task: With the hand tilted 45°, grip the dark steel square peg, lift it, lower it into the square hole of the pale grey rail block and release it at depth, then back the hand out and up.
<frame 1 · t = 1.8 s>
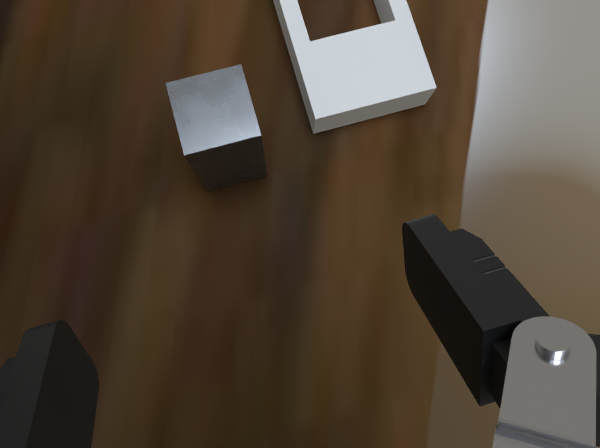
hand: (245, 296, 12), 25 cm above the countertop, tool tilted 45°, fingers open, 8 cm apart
steel square peg: (230, 155, 38), on the countertop
rail block: (336, 14, 40), on the countertop
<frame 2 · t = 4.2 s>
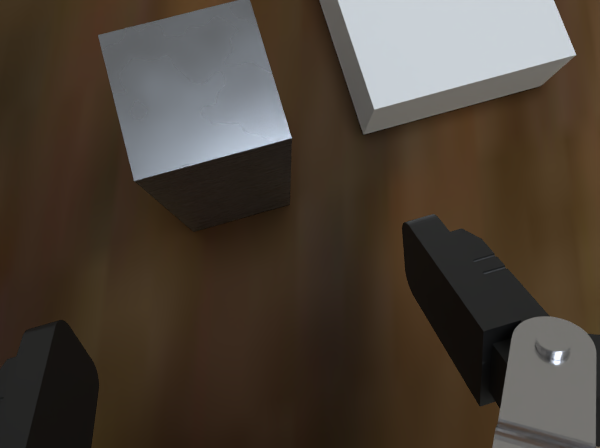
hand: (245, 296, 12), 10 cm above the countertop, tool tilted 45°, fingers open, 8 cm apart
steel square peg: (229, 171, 23), on the countertop
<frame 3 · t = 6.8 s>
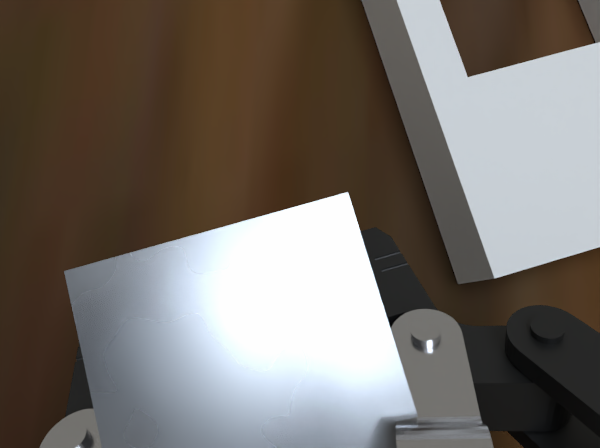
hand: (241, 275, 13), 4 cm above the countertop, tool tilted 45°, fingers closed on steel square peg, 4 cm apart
steel square peg: (268, 340, 16), on the countertop, touching gripper
rail block: (492, 12, 18), on the countertop
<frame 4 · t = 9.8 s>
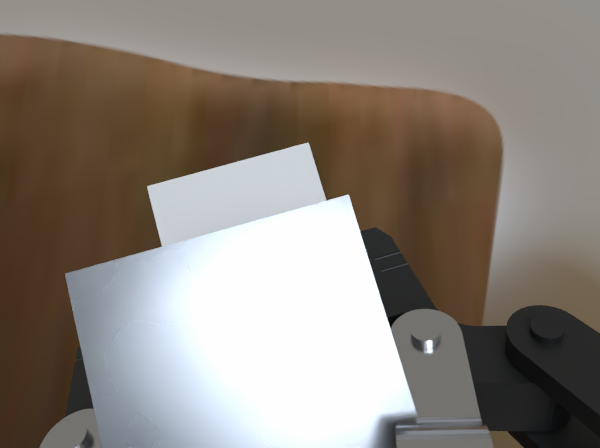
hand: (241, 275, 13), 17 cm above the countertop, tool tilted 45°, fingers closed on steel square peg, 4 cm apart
steel square peg: (269, 341, 16), point 13 cm above the countertop, touching gripper
rail block: (275, 325, 29), on the countertop
when the fingers open (6 cm above the countertop, at t = 13.1 s): steel square peg drops 1 cm, resting in rail block.
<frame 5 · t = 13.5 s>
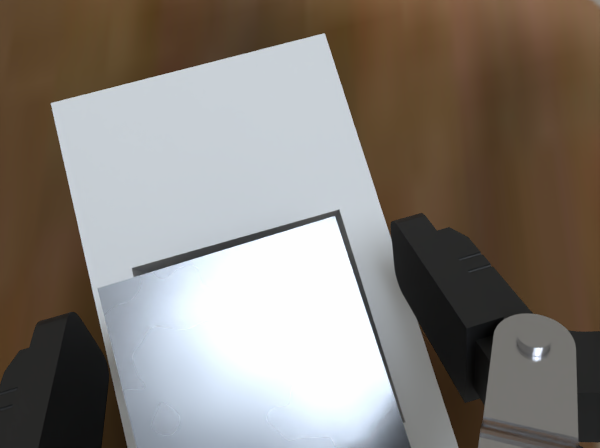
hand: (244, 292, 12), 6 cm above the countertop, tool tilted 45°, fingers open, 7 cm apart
steel square peg: (269, 341, 18), resting in rail block
rail block: (269, 338, 18), on the countertop
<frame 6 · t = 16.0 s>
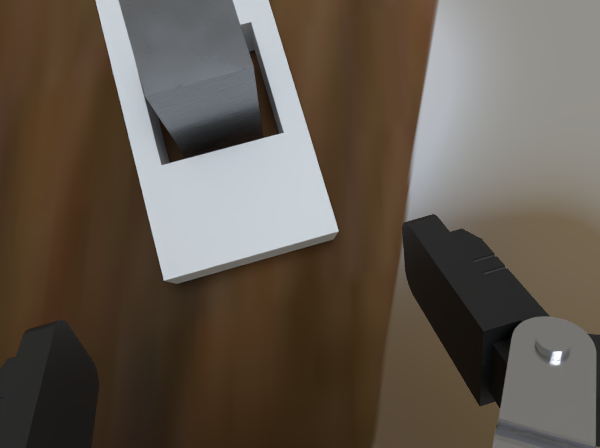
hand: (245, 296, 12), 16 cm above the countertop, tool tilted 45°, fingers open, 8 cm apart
steel square peg: (215, 115, 29), resting in rail block
rail block: (215, 113, 29), on the countertop
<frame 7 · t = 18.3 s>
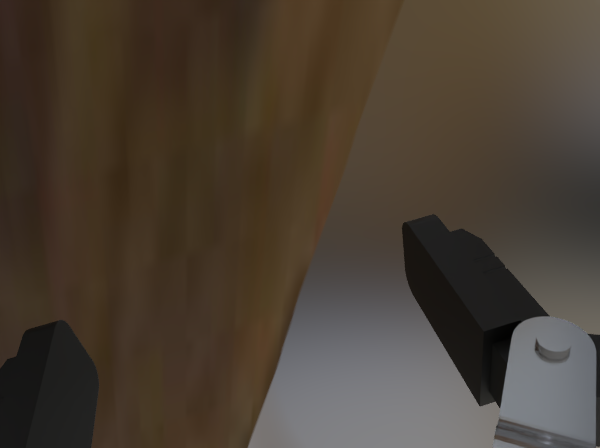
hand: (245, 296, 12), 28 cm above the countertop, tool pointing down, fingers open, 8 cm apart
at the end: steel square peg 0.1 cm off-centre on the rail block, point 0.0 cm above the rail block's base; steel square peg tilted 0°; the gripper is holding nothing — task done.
